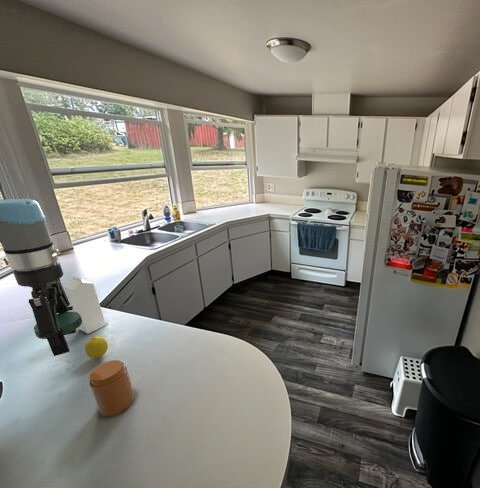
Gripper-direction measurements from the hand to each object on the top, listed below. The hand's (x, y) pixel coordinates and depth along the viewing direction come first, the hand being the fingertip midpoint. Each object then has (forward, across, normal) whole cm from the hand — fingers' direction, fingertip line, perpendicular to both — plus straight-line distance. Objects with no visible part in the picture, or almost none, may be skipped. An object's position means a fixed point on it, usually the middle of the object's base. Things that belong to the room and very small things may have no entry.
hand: (65, 342), depth 67 cm
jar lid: (-7, 0, 0) cm, 7 cm away
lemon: (+17, +14, -2) cm, 22 cm away
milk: (+17, +35, +2) cm, 39 cm away
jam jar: (+17, -10, -8) cm, 22 cm away
